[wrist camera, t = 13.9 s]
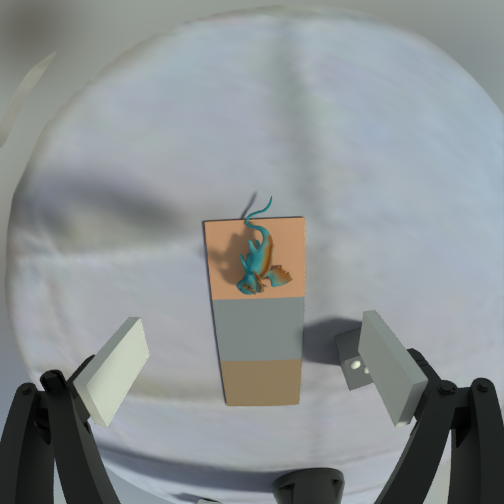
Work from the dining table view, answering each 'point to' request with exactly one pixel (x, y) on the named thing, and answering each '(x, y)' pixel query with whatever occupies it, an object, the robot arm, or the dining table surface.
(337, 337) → the die
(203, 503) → the duck figurine
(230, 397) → the game board
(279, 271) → the dragon figurine
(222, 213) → the dining table surface
